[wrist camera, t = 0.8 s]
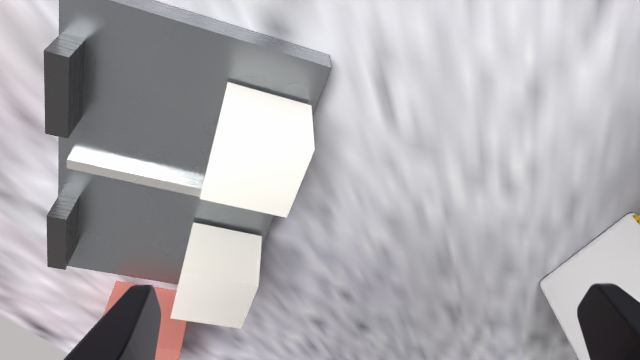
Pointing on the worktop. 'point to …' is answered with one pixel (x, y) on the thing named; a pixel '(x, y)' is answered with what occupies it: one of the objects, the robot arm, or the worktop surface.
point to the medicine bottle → (595, 275)
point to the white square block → (259, 151)
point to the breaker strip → (150, 128)
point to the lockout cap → (169, 327)
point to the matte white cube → (218, 276)
